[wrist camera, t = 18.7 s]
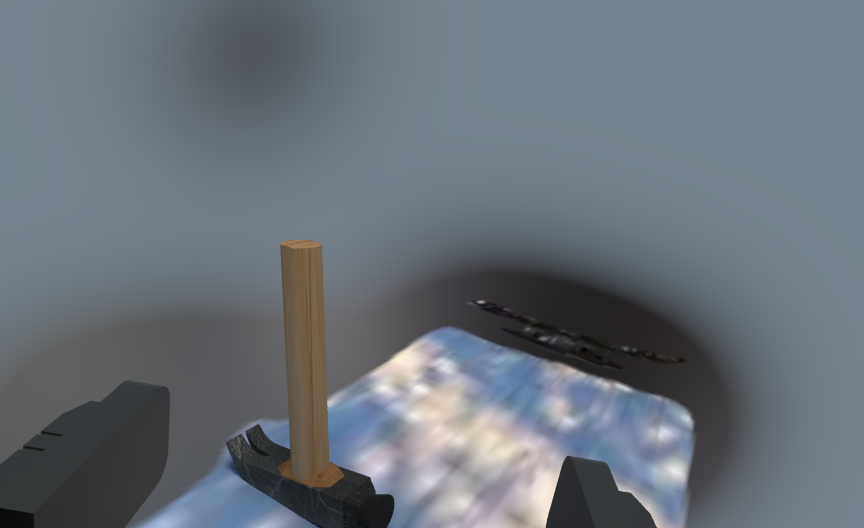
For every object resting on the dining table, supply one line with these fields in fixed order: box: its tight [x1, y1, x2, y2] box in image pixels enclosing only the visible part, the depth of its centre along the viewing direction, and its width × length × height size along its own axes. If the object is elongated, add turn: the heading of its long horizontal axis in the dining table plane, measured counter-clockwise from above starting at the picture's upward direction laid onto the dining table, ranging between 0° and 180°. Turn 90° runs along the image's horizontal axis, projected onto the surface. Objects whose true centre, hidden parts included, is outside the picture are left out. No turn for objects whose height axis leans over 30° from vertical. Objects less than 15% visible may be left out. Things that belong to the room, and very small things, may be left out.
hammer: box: [226, 240, 394, 528], centre depth 59 cm, size 20×5×30 cm, turn 60°
